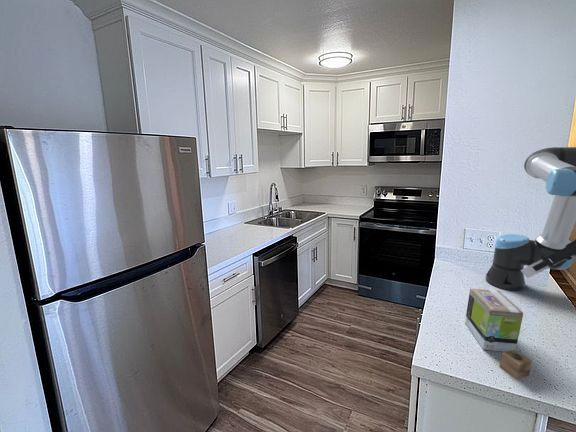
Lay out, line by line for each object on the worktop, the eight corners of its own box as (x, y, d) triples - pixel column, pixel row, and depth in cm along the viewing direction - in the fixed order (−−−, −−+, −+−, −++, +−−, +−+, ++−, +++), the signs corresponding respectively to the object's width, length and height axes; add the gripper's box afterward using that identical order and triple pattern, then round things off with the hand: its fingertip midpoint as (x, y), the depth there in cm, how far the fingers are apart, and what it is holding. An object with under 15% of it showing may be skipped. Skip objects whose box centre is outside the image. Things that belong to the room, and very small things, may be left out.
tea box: (516, 353, 94) (525, 312, 91) (482, 350, 96) (489, 310, 92) (493, 325, 109) (499, 289, 105) (463, 323, 110) (468, 287, 106)
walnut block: (511, 363, 90) (514, 348, 89) (528, 375, 86) (532, 360, 84) (499, 367, 89) (502, 352, 88) (516, 379, 84) (519, 364, 83)
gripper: (616, 248, 67) (527, 289, 81) (635, 235, 80) (556, 273, 95) (586, 221, 70) (506, 266, 85) (610, 214, 84) (537, 253, 98)
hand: (532, 270), depth 90 cm, fingers open, 13 cm apart
